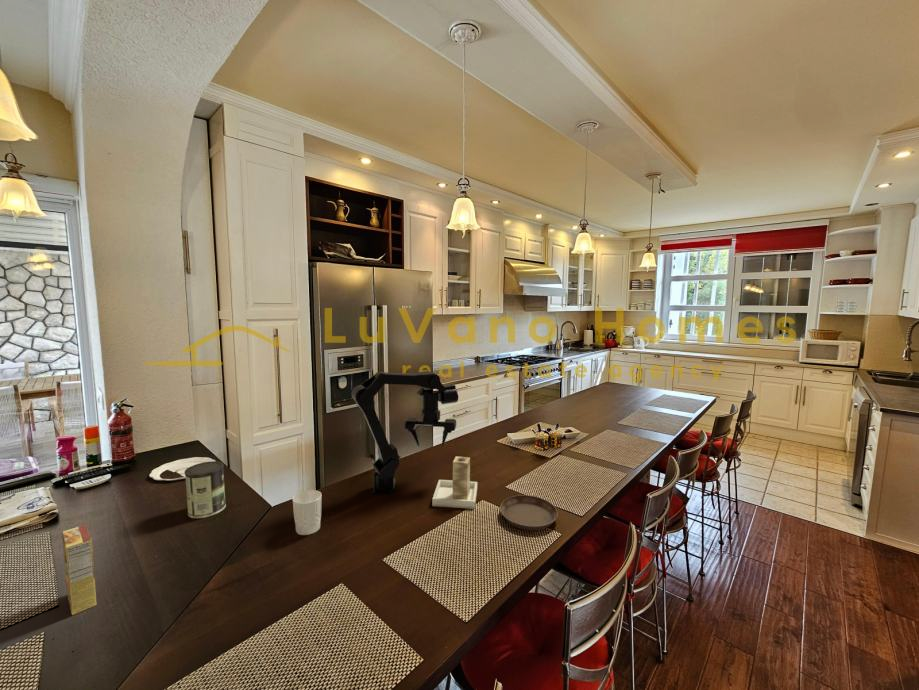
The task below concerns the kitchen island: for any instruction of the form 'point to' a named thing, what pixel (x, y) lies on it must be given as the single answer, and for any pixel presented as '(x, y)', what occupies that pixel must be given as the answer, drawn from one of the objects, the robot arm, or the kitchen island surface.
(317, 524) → the white cup
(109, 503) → the kitchen island surface
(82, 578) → the candy box
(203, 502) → the coffee can
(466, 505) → the tray
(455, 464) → the maple block
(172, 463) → the plate
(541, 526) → the plant saucer
